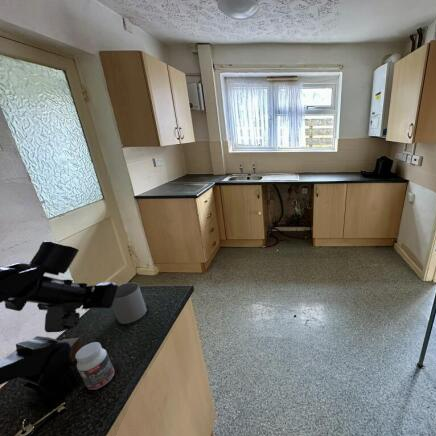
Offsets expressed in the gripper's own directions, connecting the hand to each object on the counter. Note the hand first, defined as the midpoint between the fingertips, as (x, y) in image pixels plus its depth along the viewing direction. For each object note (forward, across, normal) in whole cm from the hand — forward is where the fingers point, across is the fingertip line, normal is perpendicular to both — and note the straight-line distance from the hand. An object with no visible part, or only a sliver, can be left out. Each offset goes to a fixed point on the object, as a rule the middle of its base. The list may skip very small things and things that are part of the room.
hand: (104, 301), depth 69 cm
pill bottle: (0, +6, -19) cm, 20 cm away
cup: (+14, -1, -2) cm, 14 cm away
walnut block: (+3, -8, -14) cm, 16 cm away
